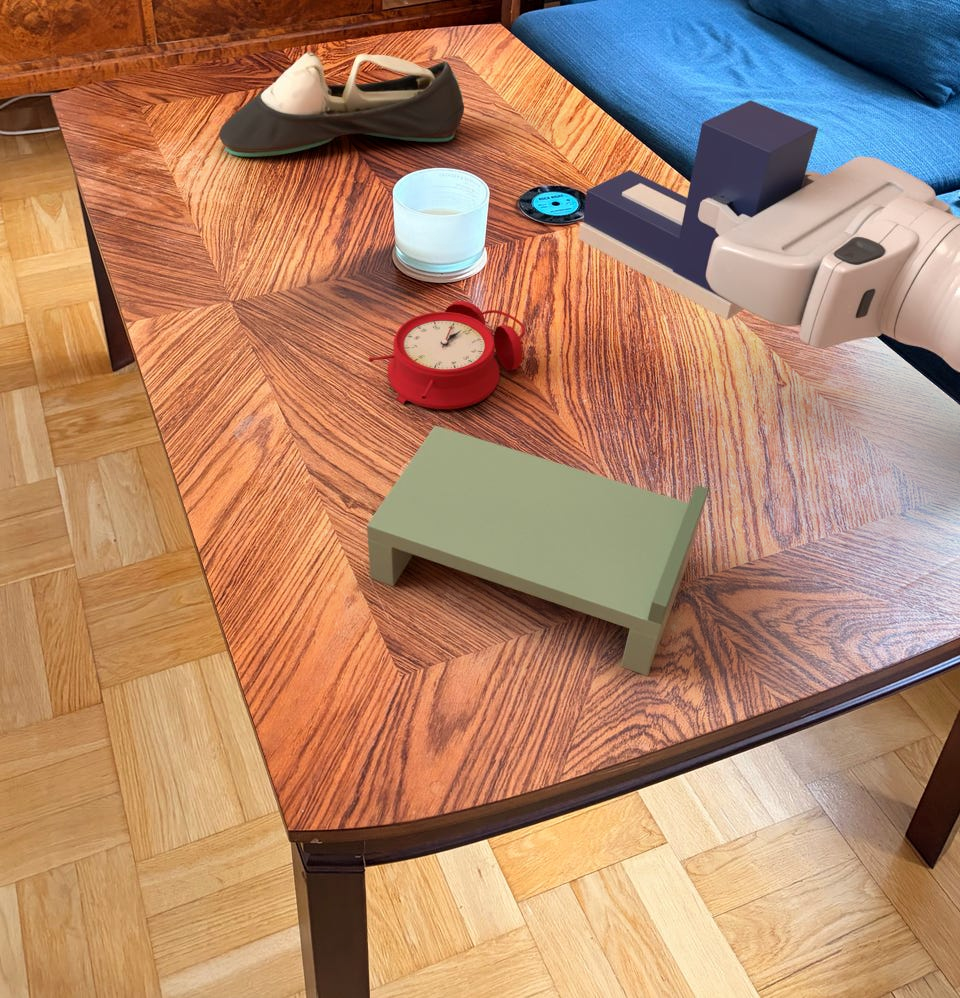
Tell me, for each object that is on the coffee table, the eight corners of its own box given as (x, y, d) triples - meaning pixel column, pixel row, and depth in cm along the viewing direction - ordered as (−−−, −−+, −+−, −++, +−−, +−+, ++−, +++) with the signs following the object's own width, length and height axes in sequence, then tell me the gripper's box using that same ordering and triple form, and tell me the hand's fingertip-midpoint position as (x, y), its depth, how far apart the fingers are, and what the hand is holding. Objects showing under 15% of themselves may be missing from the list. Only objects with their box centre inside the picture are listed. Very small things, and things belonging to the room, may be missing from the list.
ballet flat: (217, 130, 127) (203, 46, 119) (449, 109, 133) (451, 28, 126) (225, 169, 120) (211, 82, 112) (470, 145, 126) (472, 62, 119)
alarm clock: (353, 348, 90) (468, 255, 95) (368, 393, 95) (476, 303, 101) (433, 402, 85) (549, 302, 91) (444, 447, 91) (554, 350, 96)
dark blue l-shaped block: (773, 290, 83) (820, 126, 73) (726, 320, 79) (769, 153, 69) (625, 214, 90) (649, 57, 80) (577, 239, 87) (596, 78, 77)
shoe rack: (689, 559, 79) (709, 488, 73) (647, 676, 71) (666, 606, 65) (434, 478, 84) (435, 405, 79) (369, 578, 76) (365, 506, 71)
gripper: (982, 176, 73) (819, 111, 80) (829, 279, 63) (657, 195, 69) (950, 252, 77) (798, 184, 84) (802, 360, 67) (643, 273, 74)
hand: (733, 190), depth 77 cm, fingers closed on dark blue l-shaped block, 6 cm apart
